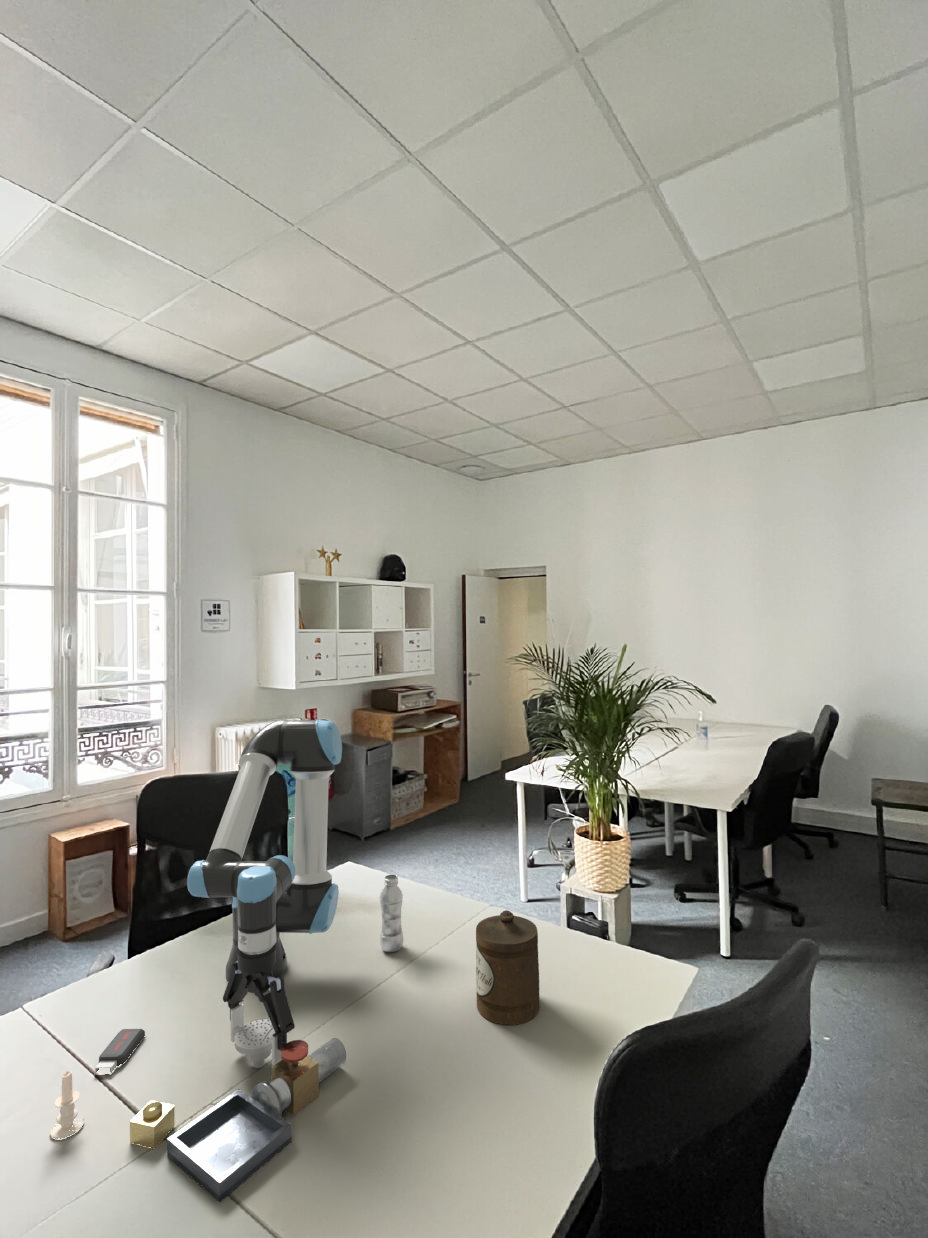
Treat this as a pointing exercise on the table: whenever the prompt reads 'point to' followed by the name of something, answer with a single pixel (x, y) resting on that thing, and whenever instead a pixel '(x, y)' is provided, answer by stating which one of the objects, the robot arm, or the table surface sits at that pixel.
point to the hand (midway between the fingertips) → (257, 1050)
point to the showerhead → (255, 1041)
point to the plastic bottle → (391, 915)
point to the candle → (66, 1109)
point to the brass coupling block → (152, 1124)
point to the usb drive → (120, 1048)
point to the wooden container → (507, 969)
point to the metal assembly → (252, 1120)
